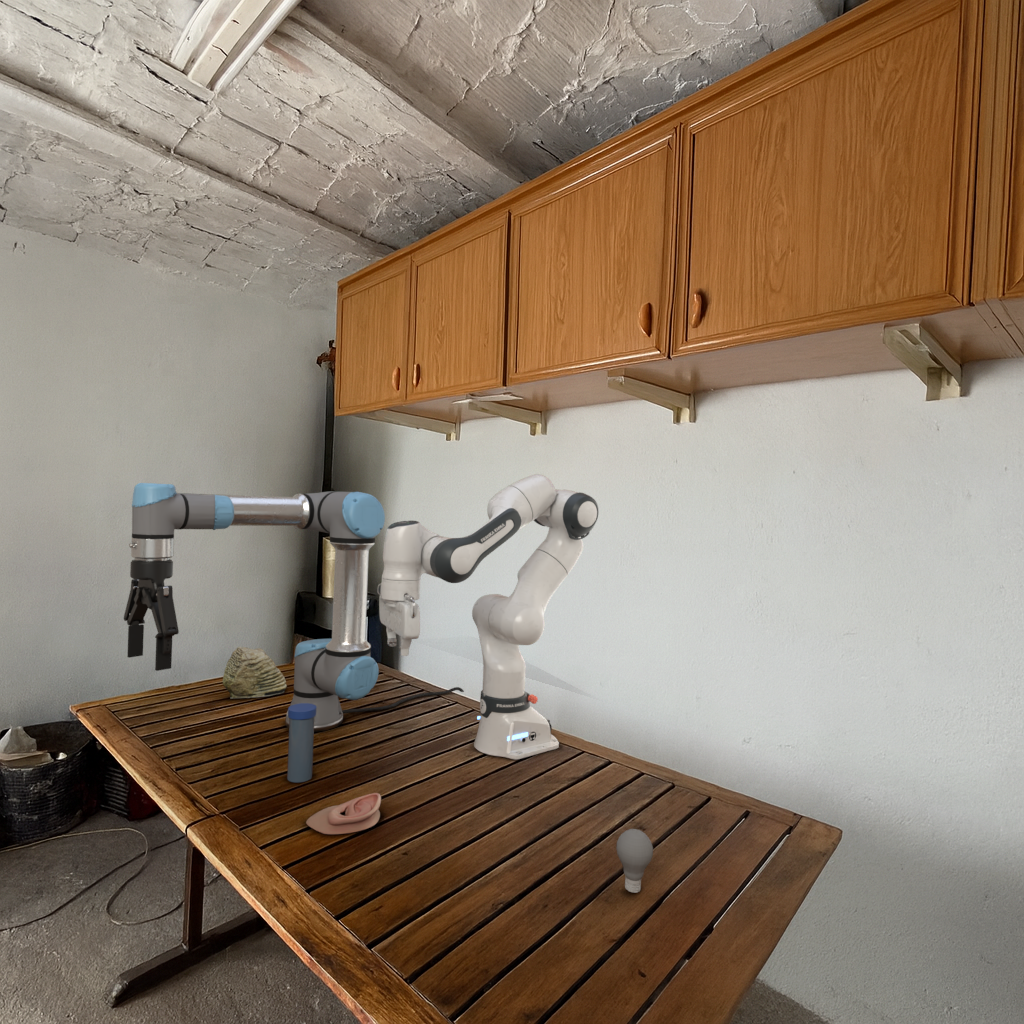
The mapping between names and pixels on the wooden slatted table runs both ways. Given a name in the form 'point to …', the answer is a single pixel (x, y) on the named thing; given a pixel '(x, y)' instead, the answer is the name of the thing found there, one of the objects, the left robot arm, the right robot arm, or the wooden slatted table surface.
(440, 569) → the right robot arm
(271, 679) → the fossil
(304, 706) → the lid
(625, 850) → the light bulb
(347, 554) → the left robot arm
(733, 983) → the wooden slatted table surface
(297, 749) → the jar
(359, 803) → the anatomical model
